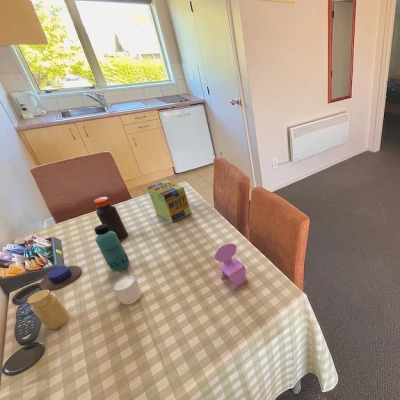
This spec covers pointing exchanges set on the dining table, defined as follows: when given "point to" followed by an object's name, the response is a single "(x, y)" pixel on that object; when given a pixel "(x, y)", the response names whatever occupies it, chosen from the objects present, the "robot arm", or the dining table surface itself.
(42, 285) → the coaster
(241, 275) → the toy chair
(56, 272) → the lid
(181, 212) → the protein box
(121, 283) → the shot glass
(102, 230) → the beverage bottle
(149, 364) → the dining table surface
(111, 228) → the vinegar
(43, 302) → the honey jar
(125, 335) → the dining table surface
